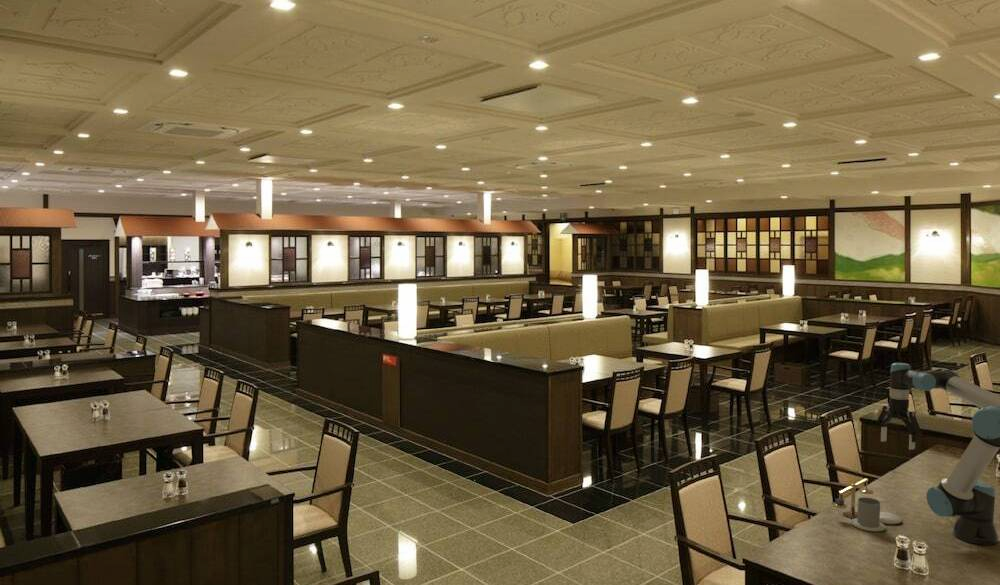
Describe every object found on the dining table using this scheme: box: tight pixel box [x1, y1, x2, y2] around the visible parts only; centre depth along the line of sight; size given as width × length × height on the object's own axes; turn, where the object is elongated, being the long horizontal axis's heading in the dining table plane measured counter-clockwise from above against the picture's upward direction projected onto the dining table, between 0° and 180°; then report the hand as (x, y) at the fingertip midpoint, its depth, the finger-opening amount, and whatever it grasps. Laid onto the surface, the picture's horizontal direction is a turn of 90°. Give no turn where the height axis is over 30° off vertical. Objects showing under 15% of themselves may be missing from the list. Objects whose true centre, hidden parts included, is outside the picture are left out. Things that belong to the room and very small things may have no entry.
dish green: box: [850, 518, 886, 533], centre depth 291 cm, size 13×13×1 cm
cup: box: [856, 496, 881, 528], centre depth 291 cm, size 8×8×10 cm
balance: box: [832, 477, 875, 520], centre depth 302 cm, size 22×6×16 cm, turn 113°
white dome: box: [880, 510, 903, 525], centre depth 299 cm, size 13×13×1 cm
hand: (897, 445), depth 303 cm, fingers open, 13 cm apart
